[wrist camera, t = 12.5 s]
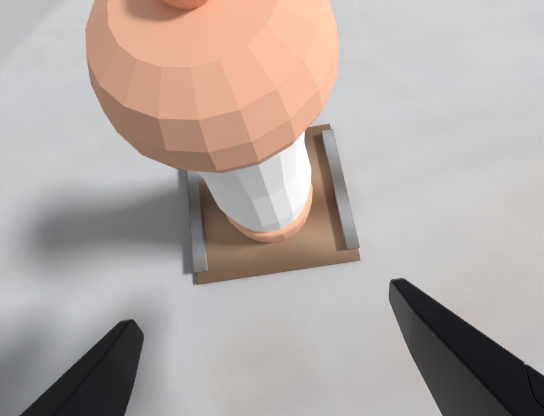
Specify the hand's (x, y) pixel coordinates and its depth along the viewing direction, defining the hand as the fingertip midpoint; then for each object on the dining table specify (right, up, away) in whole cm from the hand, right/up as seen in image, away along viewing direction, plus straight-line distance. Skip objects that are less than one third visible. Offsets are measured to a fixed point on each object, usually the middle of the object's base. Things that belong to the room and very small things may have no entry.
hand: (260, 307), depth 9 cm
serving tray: (0, +4, +15) cm, 16 cm away
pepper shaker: (0, +4, +15) cm, 15 cm away
